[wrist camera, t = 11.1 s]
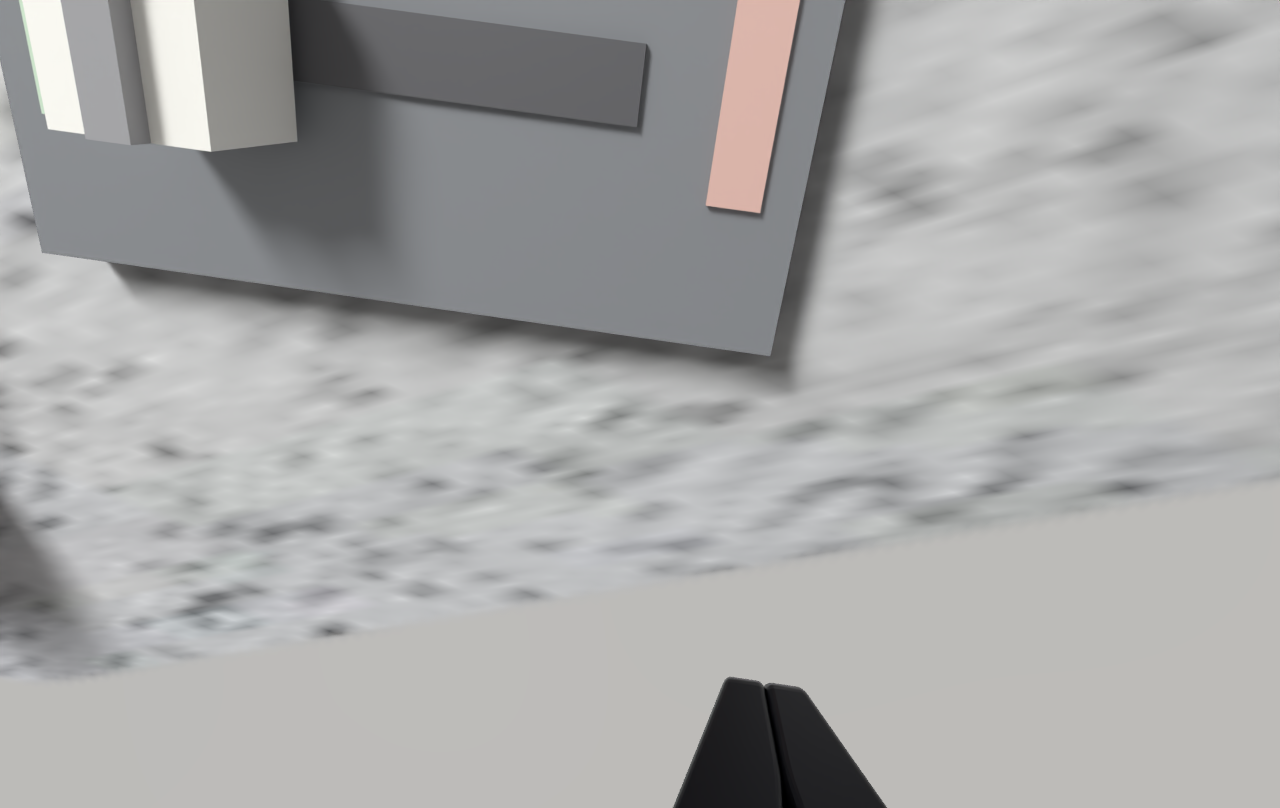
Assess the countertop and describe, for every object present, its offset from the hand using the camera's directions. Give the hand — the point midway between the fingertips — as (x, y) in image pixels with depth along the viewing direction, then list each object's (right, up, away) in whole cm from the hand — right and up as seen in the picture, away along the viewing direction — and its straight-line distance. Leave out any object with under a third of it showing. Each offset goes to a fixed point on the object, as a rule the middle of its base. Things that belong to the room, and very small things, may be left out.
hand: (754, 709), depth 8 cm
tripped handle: (-10, +11, +7) cm, 16 cm away
